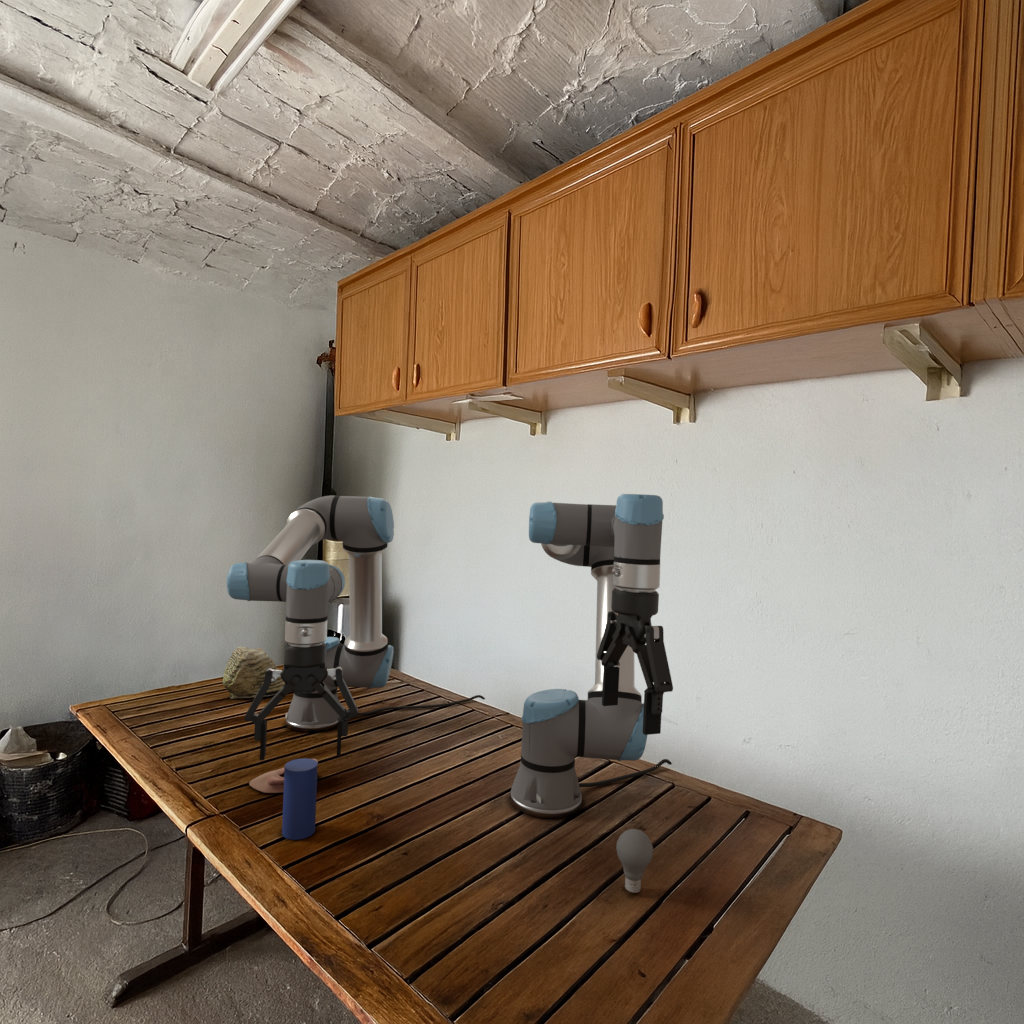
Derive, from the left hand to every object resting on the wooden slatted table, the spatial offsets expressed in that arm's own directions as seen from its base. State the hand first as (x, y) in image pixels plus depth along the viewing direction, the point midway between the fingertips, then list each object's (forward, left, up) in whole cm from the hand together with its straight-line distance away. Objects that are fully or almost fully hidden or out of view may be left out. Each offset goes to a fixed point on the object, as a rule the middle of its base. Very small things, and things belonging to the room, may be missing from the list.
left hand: (301, 755), depth 119 cm
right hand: (-24, +55, +15) cm, 62 cm away
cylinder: (0, 0, -15) cm, 15 cm away
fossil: (-36, -81, -15) cm, 89 cm away
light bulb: (-27, +56, -15) cm, 64 cm away
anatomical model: (-9, -20, -15) cm, 27 cm away
